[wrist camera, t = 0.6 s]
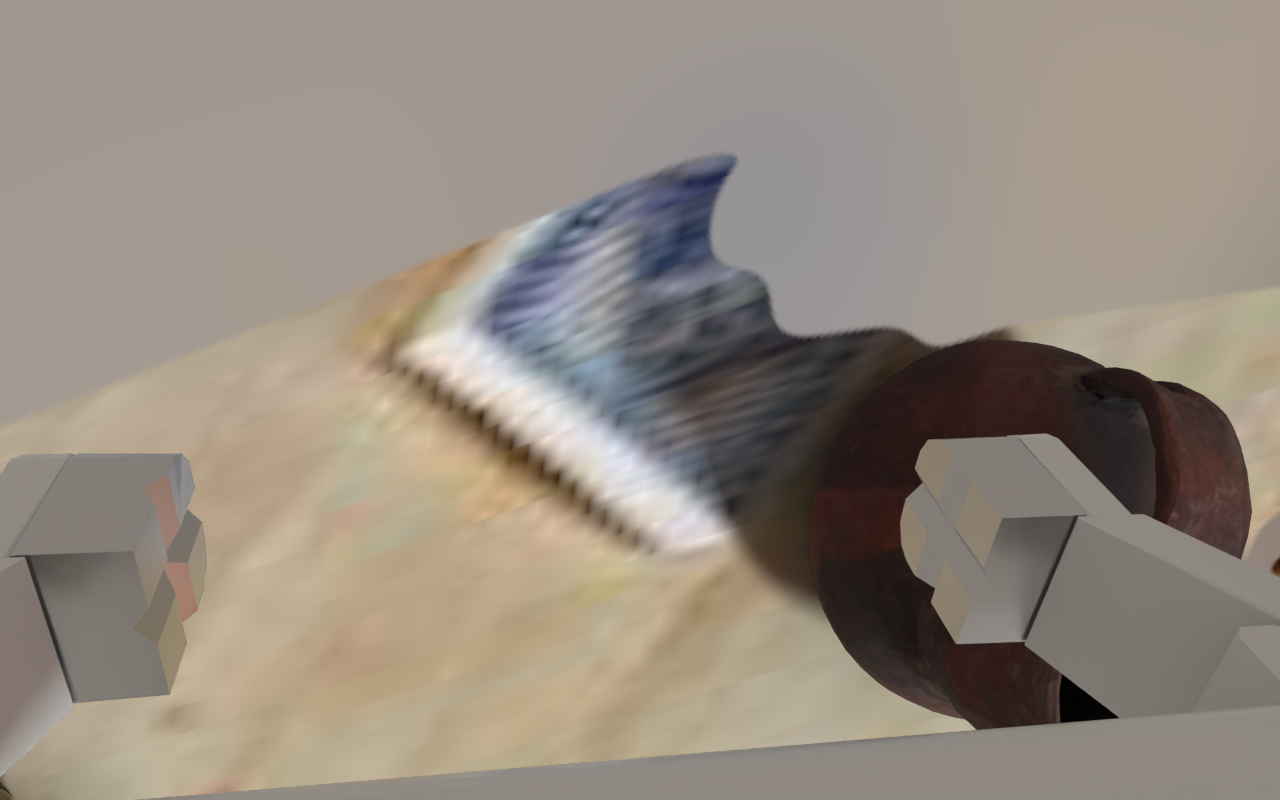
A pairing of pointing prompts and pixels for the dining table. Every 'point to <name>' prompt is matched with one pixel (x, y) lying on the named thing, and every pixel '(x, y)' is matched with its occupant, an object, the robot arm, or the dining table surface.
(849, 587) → the jug
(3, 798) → the cup
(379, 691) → the dining table surface
